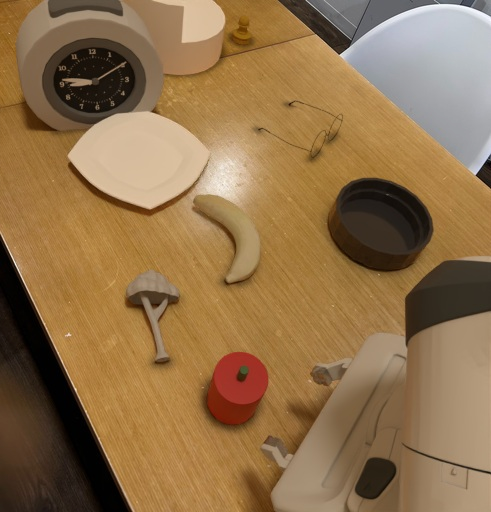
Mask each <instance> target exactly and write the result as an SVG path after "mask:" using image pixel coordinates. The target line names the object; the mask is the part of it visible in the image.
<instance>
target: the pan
mask: <svg viewBox="0 0 491 512" xmlns="http://www.w3.org/2000/svg"><path fill="white" fill-rule="evenodd" d="M328 227H329V230H330V233H331V236H332V238H333V240H334V241H335V242H336V243H337V245H338V247H339V248H340V249H341V250H342V251H343V252H344V253H346V255H348V256H349V257H350V258H352V260H354V261H356V262H359V263H360V264H362V265H364V266H367V267H368V268H373V269H378V270H382V271H388V270H389V271H390V270H391V271H392V270H400V269H403V268H406V267H408V266H410V265H412V264H413V262H415V261H416V260H417V259H418V258H419V257H420V256H421V254H422V253H423V251H424V250H425V249H426V247H427V246H428V245H429V244H430V242H431V240H432V237H433V234H434V231H435V230H434V222H433V217H432V216H431V213H430V211H429V209H428V207H427V205H425V203H424V202H423V201H422V200H421V199H420V197H419V196H418V195H416V194H415V193H414V192H412V191H411V190H409V189H408V188H406V187H405V186H403V185H402V184H399V183H397V182H395V181H392V180H388V179H384V178H380V177H361V178H358V179H354V180H351V181H349V182H348V183H347V184H345V185H344V186H343V187H341V189H340V190H339V192H338V194H337V196H336V198H335V200H334V202H333V205H332V207H331V209H330V212H329V216H328Z"/></svg>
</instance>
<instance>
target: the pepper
mask: <svg viewBox="0 0 491 512" xmlns="http://www.w3.org/2000/svg"><path fill="white" fill-rule="evenodd" d="M267 370H268V369H267V368H266V366H265V364H264V363H263V362H262V361H261V360H260V359H259V358H258V357H257V356H256V355H254V354H252V353H249V352H246V351H233V352H230V353H227V354H226V355H224V356H223V357H221V358H220V359H219V360H218V362H217V363H216V365H215V367H214V370H213V374H212V378H211V381H210V383H209V384H210V385H209V388H208V392H207V395H206V403H207V407H208V409H209V412H210V413H211V415H212V416H213V417H214V418H215V419H216V420H217V421H219V422H220V423H223V424H224V425H225V424H226V425H231V426H236V425H240V424H243V423H245V422H247V421H248V420H250V418H252V416H254V413H255V412H256V410H257V408H258V406H259V404H260V403H261V401H262V399H263V397H264V396H265V394H266V391H267V389H268V386H269V374H268V371H267Z"/></svg>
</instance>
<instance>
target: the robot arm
mask: <svg viewBox="0 0 491 512" xmlns="http://www.w3.org/2000/svg"><path fill="white" fill-rule="evenodd" d="M404 329H405V330H404V332H405V333H404V334H405V335H400V334H397V333H390V332H385V331H384V332H383V331H378V332H375V333H372V334H369V335H368V336H366V338H365V339H364V341H363V342H362V344H361V345H360V348H359V349H358V350H357V352H356V353H355V356H354V357H345V358H340V359H339V360H336V361H332V362H329V363H324V362H316V363H315V364H314V366H313V368H312V369H311V371H310V373H309V375H310V377H312V381H313V382H314V384H317V385H319V386H321V385H323V386H325V387H330V386H331V384H332V383H333V382H335V381H338V383H337V385H336V387H335V388H334V390H333V391H332V393H331V395H330V397H329V398H328V400H327V401H326V402H325V404H324V406H323V408H322V409H321V411H320V412H319V414H318V416H317V417H316V419H315V420H314V422H313V424H312V426H311V427H310V429H309V431H308V432H307V434H306V435H305V436H304V439H303V440H302V442H301V443H300V444H299V447H298V448H297V449H296V452H295V453H294V454H291V453H289V449H288V448H287V446H285V444H284V442H283V440H282V439H281V438H279V437H276V436H274V437H273V435H270V434H269V435H268V436H267V437H266V439H265V440H264V441H263V443H262V444H261V446H260V447H259V451H261V453H262V454H263V456H264V457H265V458H266V459H267V460H269V461H271V462H274V463H276V464H277V465H278V467H279V469H280V470H281V471H282V474H281V476H280V477H279V480H278V481H277V483H276V484H275V485H274V487H273V489H272V491H271V492H270V500H271V504H272V507H273V510H274V512H491V255H484V254H483V255H469V256H463V257H458V258H455V259H447V260H444V261H443V260H442V262H440V263H438V265H436V266H435V267H434V268H433V269H431V270H430V271H429V272H428V273H426V274H425V275H424V277H422V278H421V279H420V280H419V281H418V282H417V283H416V284H415V285H414V286H413V287H412V289H411V290H410V291H409V292H408V293H407V294H406V296H405V297H404Z"/></svg>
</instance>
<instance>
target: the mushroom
mask: <svg viewBox="0 0 491 512" xmlns="http://www.w3.org/2000/svg"><path fill="white" fill-rule="evenodd" d="M125 296H126V297H127V298H128V300H129V301H130V302H131V303H132V304H134V305H143V307H144V310H145V312H146V315H147V317H148V320H149V322H150V326H151V328H152V332H153V337H154V341H155V343H156V344H155V345H156V350H157V354H156V356H155V359H154V361H155V362H156V363H162V362H167V361H170V360H171V357H170V356H169V355H168V353H167V351H166V348H165V344H164V340H163V335H162V332H161V329H160V324H159V319H160V317H161V316H162V315H163V313H164V312H165V310H166V307H167V306H168V303H174V302H176V301H178V300H180V297H181V293H180V290H179V288H178V286H177V285H175V284H173V283H169V280H168V278H166V275H164V274H163V273H160V272H157V271H156V270H155V269H148V270H146V271H145V272H142V273H139V274H138V275H136V277H134V280H132V281H131V282H129V283H128V284H127V286H126V288H125ZM158 304H160V305H159V306H158V307H156V308H155V309H154V308H153V306H152V305H158Z"/></svg>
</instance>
